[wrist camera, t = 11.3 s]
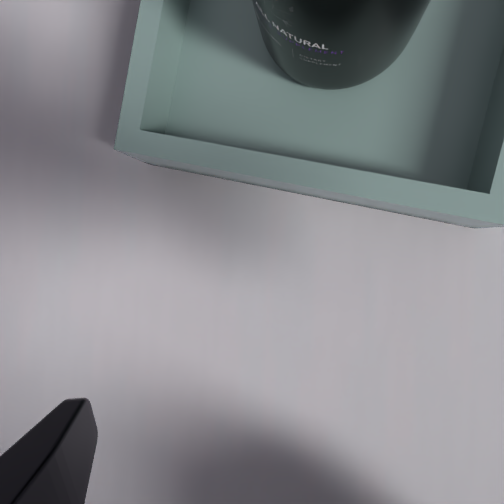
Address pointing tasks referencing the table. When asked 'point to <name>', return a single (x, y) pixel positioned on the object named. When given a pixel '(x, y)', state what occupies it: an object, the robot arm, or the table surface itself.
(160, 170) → the table surface
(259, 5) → the supplement bottle
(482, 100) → the tray
